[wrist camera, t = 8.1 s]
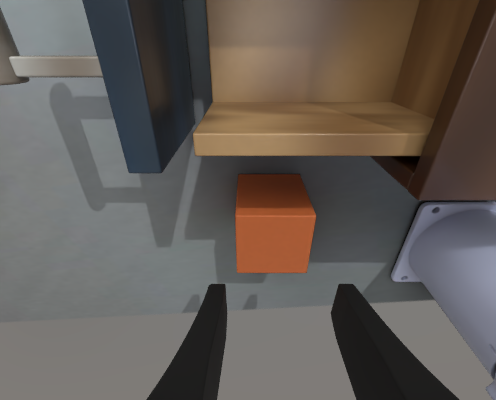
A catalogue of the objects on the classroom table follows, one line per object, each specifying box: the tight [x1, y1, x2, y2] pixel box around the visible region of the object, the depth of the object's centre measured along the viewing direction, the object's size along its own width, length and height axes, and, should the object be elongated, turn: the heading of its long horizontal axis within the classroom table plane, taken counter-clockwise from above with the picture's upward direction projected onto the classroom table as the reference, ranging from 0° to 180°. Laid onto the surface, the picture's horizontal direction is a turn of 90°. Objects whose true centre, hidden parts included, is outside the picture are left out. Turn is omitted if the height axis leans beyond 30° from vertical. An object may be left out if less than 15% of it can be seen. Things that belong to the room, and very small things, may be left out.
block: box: [235, 174, 316, 273], centre depth 16 cm, size 4×4×5 cm
